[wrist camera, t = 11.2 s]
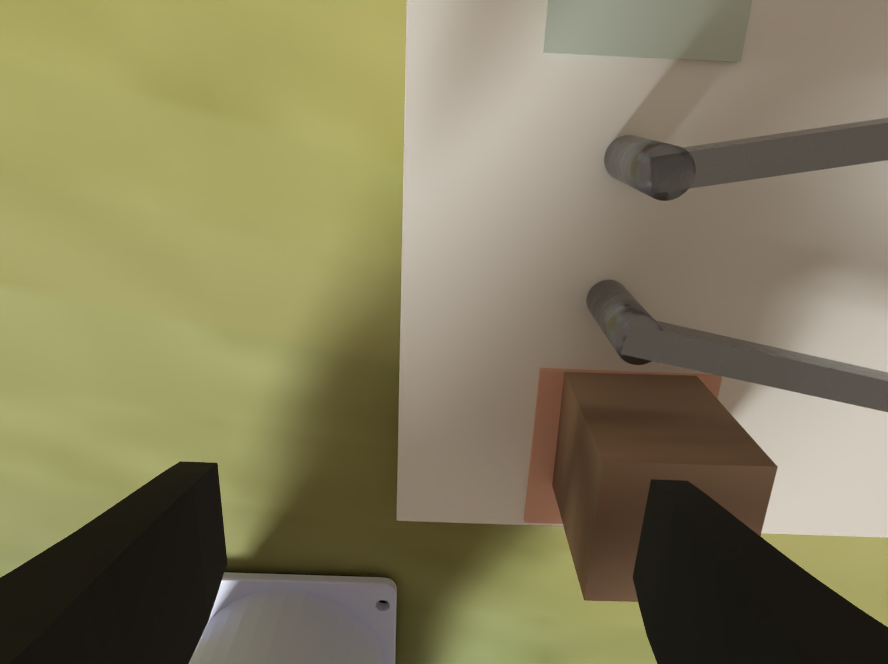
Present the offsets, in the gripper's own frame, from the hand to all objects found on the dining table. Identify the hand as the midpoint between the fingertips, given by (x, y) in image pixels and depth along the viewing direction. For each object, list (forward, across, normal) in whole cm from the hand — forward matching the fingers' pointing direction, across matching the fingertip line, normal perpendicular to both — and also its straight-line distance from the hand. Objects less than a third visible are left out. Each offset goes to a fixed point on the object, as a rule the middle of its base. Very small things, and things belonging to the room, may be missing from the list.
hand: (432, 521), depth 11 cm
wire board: (+10, -8, -3) cm, 13 cm away
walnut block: (+9, -6, +3) cm, 11 cm away
